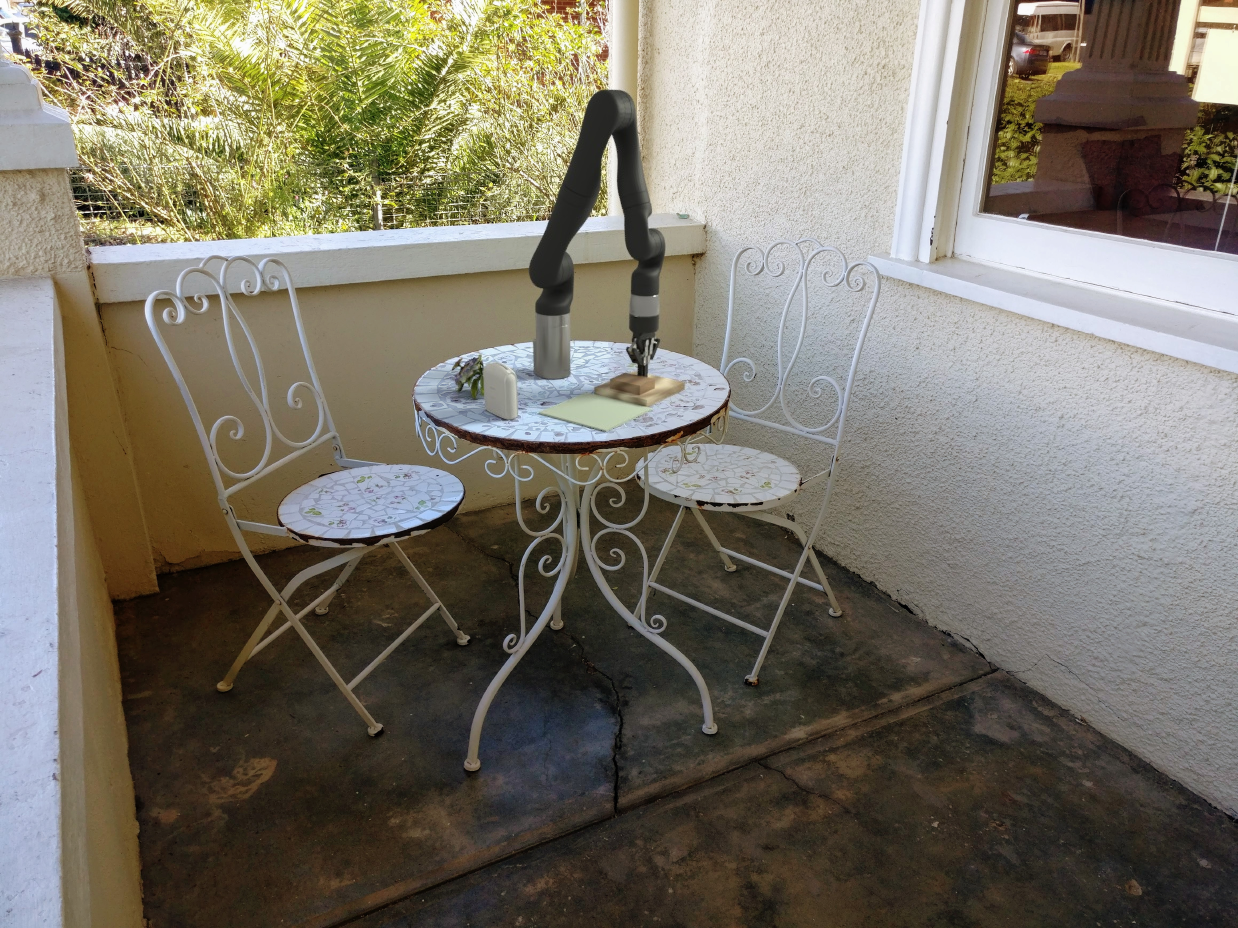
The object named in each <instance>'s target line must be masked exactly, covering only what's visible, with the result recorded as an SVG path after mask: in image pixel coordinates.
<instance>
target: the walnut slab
mask: <svg viewBox="0 0 1238 928" xmlns="http://www.w3.org/2000/svg"><path fill="white" fill-rule="evenodd" d="M609 381H610V389H614V390H619V391H623V392H627V393H632V394H636V395H642V394H644V393H646V392H648V391H650V390H652V389H654V388H655V379H653V378H648V377H644V376H639V375H635V374H630V372H629V373H628V372H624V373H621V374H619V375H617V376H613V377H611V378H610V379H609Z"/></svg>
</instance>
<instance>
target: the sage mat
mask: <svg viewBox="0 0 1238 928" xmlns="http://www.w3.org/2000/svg"><path fill="white" fill-rule="evenodd" d="M652 410H653V408H652V407H650V406H649V407H645V406H641V405H637V404H633V403H628V402H624V401H620V400H616V399H612V398H608V397H604V396H600V395H596V394H594V393H592V392H588V391H587V392H584V393H581V394H579V395H577V396H574V397H572V398H569V399H567V400H565V401H562V402H560V403H558V404H555V405H553V406H550V407H547V408H546V409H543V410H540V411H539V412H538V415H543V416H546V417H550V418H554V419H557V420H561V421H565V422H567V423H568V422H569V423H572V424H576V425H579V424H580V426H582V425H584V426H583V427H587V428H590V427H591V428H590V429H593V428H594V430H598V431H601V430H602V431H601V432H604V431H606V433H608V432H609V430H610V431H612V430H613V428H614V429H616V428H617V427H618V428H619V427H620V426H622V425H624V424H626V423H628V422H630V421H633V420H635V419H636V417H637V418H639V417H640V416H642V415H643V416H644V415H645V414H647V413H650V412H651V411H652ZM638 416H639V417H638ZM607 431H608V432H607Z"/></svg>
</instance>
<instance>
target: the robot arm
mask: <svg viewBox="0 0 1238 928" xmlns="http://www.w3.org/2000/svg"><path fill="white" fill-rule="evenodd" d="M638 129H639V127H638V118H637V109H636V104H635V101H634V99H633V97H632V96H631V95H630V93H628V92H627V91H624V90H621V89H609V88H608V89H607V88H606V89H600V90H597V91H596V92H595V93H594V94H593V95H592V96H591V97H590V99H589V100H588V102H587V105H586V108H585V112H584V115H583V119H582V123H581V127H580V131H579V134H578V139H577V142H576V145H575V148H574V151H573V153H572V156H571V159H570V162H569V164H568V167H567V171H566V173H565V175H564V177H563V180H562V183H561V185H560V188H559V191H558V193H557V196H556V199H555V203H554V205H553V207H552V210H551V214H550V215H549V219H548V221H547V225H546V226H545V227H546V228H545V229H544V232H543V235H542V237H541V238H540V241H539V243H538V244H537V247H536V249H535V250H534V253H533V255H532V257H531V258H530V259H531V260H530V262H529V265H528V266H529V267H528V275H529V279H530V281H531V283H532V284H533V285H534V286H535V287H536V288H538V289H542V291H541V294H540V295H539V297H538V298H537V299H536V301H535V308H534V309H535V312H534V313H535V338H533V340H532V354H533V355H532V358H533V360H532V361H533V374H535V375H536V376H537V377H539V378H543V379H548V380H555V379H557V380H559V379H560V380H561V379H564V378H568V377H570V376H571V307H572V303H573V300H574V288H575V285H574V284H575V266H574V262H573V258H572V256H571V255H570V254H569V253H568V252H567V249H568V247H569V246H570V244H571V242H572V240H573V239H574V237H576V235H577V234H578V232H579V231H580V229H581V228H582V227H583V226H584V224H585V223H586V222H587V220H588V218H589V217H590V215H591V213H592V211H593V210H594V207H595V204H596V201H597V200H598V196H599V194H600V190H601V185H602V163H603V156H604V154H605V150H606V148H607V146H608V143H609V141H610V139H611V136H612V139H613V143H614V146H615V151H616V158H617V161H616V162H617V167H616V169H617V170H616V189H617V194H618V197H619V199H618V200H619V201H620V206H621V209H622V213H623V216H624V217H623V220H624V221H623V222H624V223H623V226H624V242H625V246H626V250H627V253H628V254H629V256H630V258H632V259H633V260H635V261H638V263H637V266H636V268H635V269H634V270H633V271H632V273H631V278H630V298H629V305H628V306H629V307H628V308H629V310H628V311H629V312H628V314H629V316H628V329H629V331H631V332H632V336H631V344H630V346H626V347H625V351H626V353H627V355H628V357H629V359H630V362H632V364H636V365H637V370H636V371H637V375H639V376H644V377H648V374H649V364H650V363H651V361H653V360H654V358H655V356H656V354H657V350H658V348H659V345H660V343H661V339H660V338H657V337H656V332H658V331H659V330H660V307H661V306H660V275H661V272H662V268H663V264H664V260H665V255H666V240H665V237H664V234H663V233H662V232H661V231H660V230H659V229H657V228H652V227H651V228H649V218H650V216H652V214H653V208H652V203H651V199H650V194H649V191H648V186H647V183H646V177H645V173H644V167H643V164H642V163H643V162H642V156H641V147H640V139H639V130H638Z"/></svg>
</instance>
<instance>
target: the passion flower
mask: <svg viewBox="0 0 1238 928" xmlns="http://www.w3.org/2000/svg"><path fill="white" fill-rule="evenodd" d="M462 360H463V357H461V358H459V359H458V360H456V361H455V363H454V364H453V365H452V367H451V368H452V369H451V371H455V369H457V368H458V367H459V371H458V372H457V373H456V374H455V376H454V377H455V379H454V384H455V385H456V386H457V388H456V392H457V393H460V392H462V391H463V388H464V386H465V384H466V383H467V386H468V387H469V388H470V392H471V393H470V394H471V398H472V399H474V400H476V401H477V399H478V398H477V396H478V394H479V393H480V396H481V398H482V397H483V396H484V379H483V370H484V367H485V365H484V361H483V359H482V353H481V354H478V356H477V357H476V356H474V357H471V358H469V359H467V360H466V361H464V364H463V365H461V362H462ZM474 377H475V378H474ZM479 383H480V384H479ZM479 386H480V387H479ZM479 391H480V392H479Z"/></svg>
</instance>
